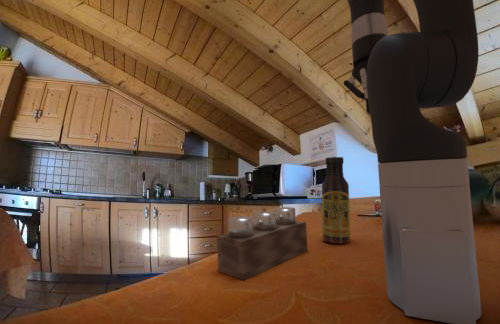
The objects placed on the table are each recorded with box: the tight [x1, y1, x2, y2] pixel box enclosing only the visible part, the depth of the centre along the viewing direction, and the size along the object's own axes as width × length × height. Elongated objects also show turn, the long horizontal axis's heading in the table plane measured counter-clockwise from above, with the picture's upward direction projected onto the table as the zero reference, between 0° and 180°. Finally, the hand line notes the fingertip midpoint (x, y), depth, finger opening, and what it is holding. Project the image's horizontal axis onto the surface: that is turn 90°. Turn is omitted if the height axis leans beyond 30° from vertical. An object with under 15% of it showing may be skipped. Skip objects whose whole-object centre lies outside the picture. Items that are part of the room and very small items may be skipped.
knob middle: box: [253, 210, 277, 231], centre depth 49 cm, size 4×4×7 cm
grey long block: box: [216, 220, 308, 281], centre depth 49 cm, size 19×6×6 cm, turn 136°
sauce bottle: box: [321, 156, 351, 245], centre depth 59 cm, size 6×6×20 cm
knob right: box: [273, 206, 297, 225], centre depth 54 cm, size 4×4×7 cm
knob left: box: [228, 215, 254, 238], centre depth 44 cm, size 4×4×7 cm
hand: (374, 114), depth 57 cm, fingers closed
